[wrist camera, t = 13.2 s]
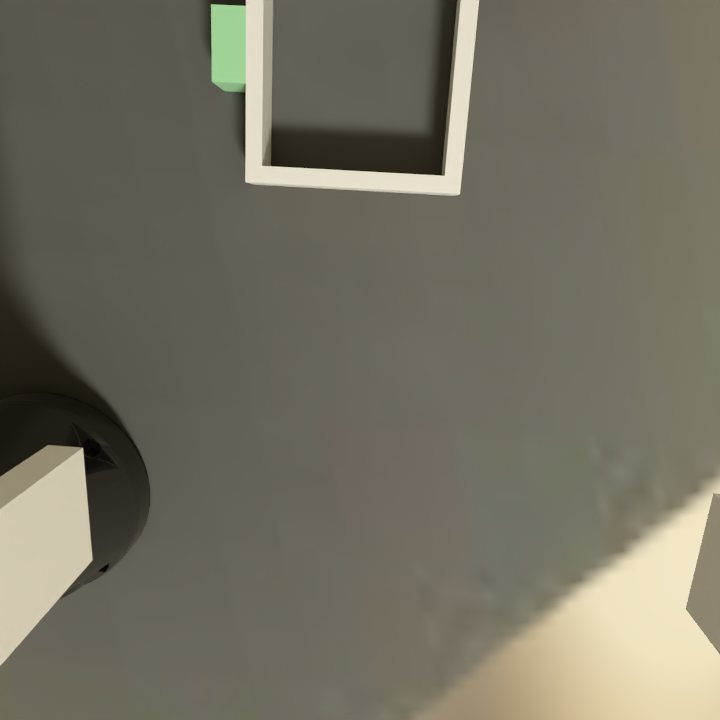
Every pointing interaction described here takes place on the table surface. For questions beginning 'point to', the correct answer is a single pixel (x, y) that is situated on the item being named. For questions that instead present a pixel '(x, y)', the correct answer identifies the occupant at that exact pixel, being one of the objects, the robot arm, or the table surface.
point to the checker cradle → (254, 76)
